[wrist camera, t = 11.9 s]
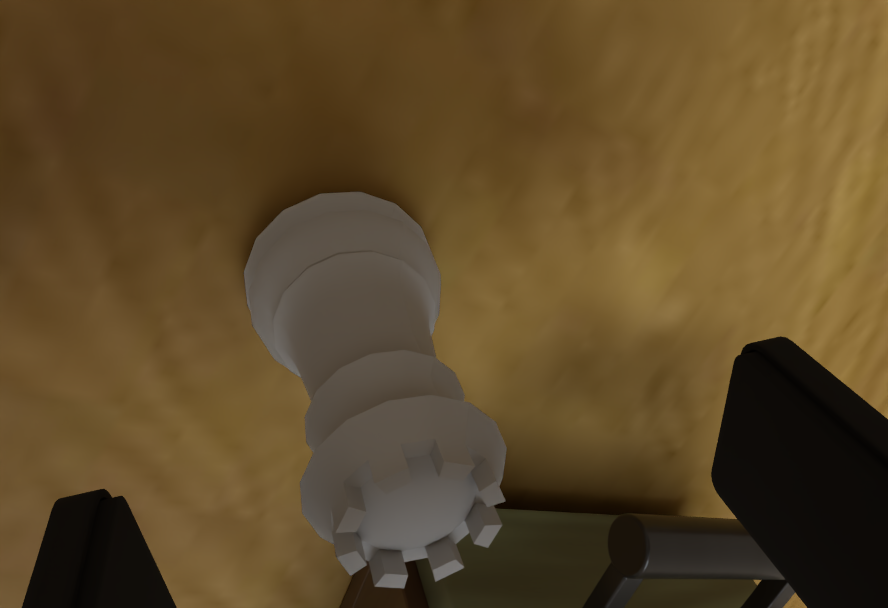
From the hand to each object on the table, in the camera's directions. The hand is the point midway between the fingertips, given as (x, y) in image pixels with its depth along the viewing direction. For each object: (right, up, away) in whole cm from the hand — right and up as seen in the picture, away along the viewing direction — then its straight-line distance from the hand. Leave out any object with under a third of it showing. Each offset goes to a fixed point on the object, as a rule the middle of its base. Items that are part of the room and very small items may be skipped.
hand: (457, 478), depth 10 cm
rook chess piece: (-3, +4, +6) cm, 8 cm away
